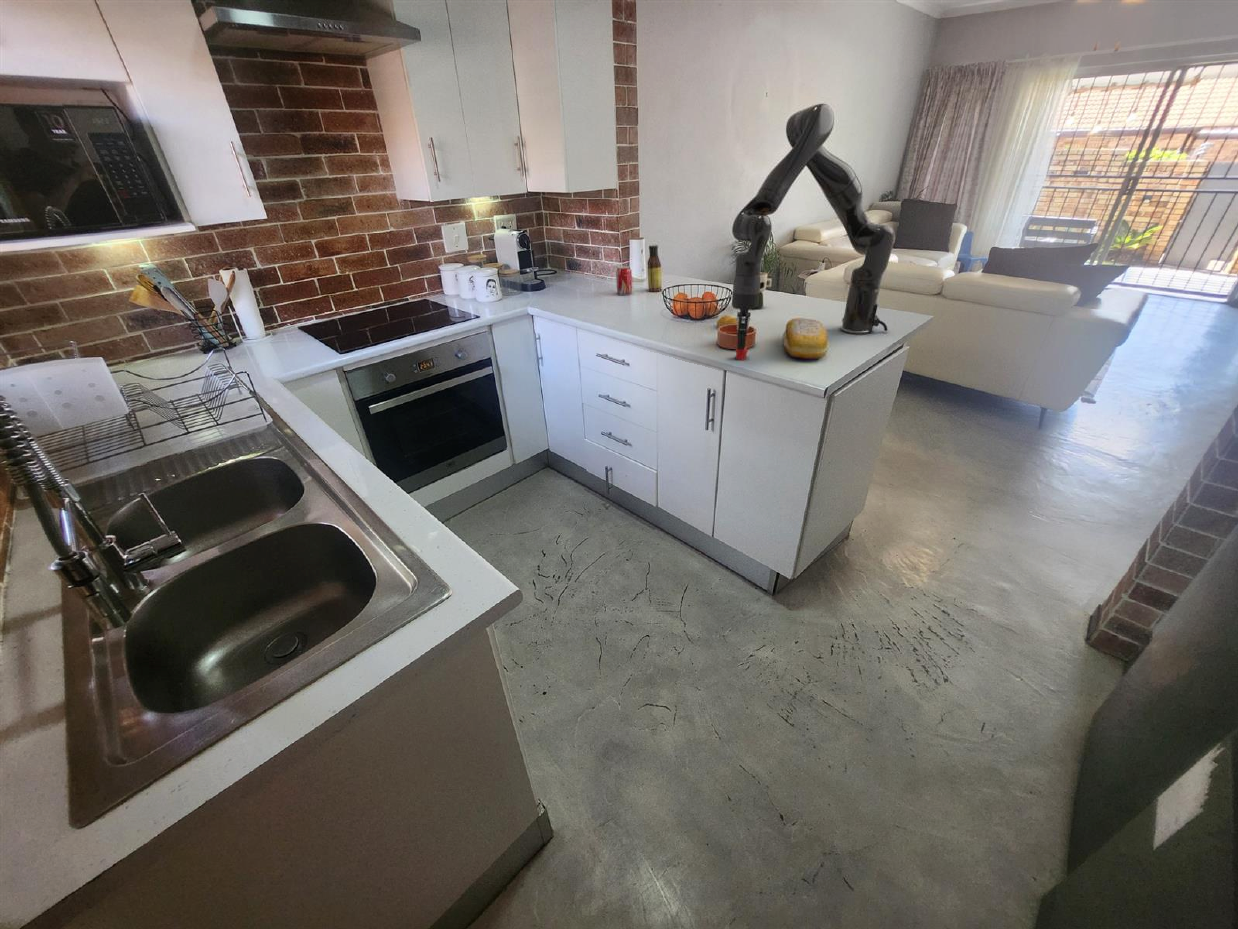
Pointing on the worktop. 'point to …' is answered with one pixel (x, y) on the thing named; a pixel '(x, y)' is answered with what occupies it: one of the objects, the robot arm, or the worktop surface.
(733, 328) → the bowl
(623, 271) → the soda can
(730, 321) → the bread roll
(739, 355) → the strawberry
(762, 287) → the character mug
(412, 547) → the worktop surface
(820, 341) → the bread
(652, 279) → the sauce bottle
